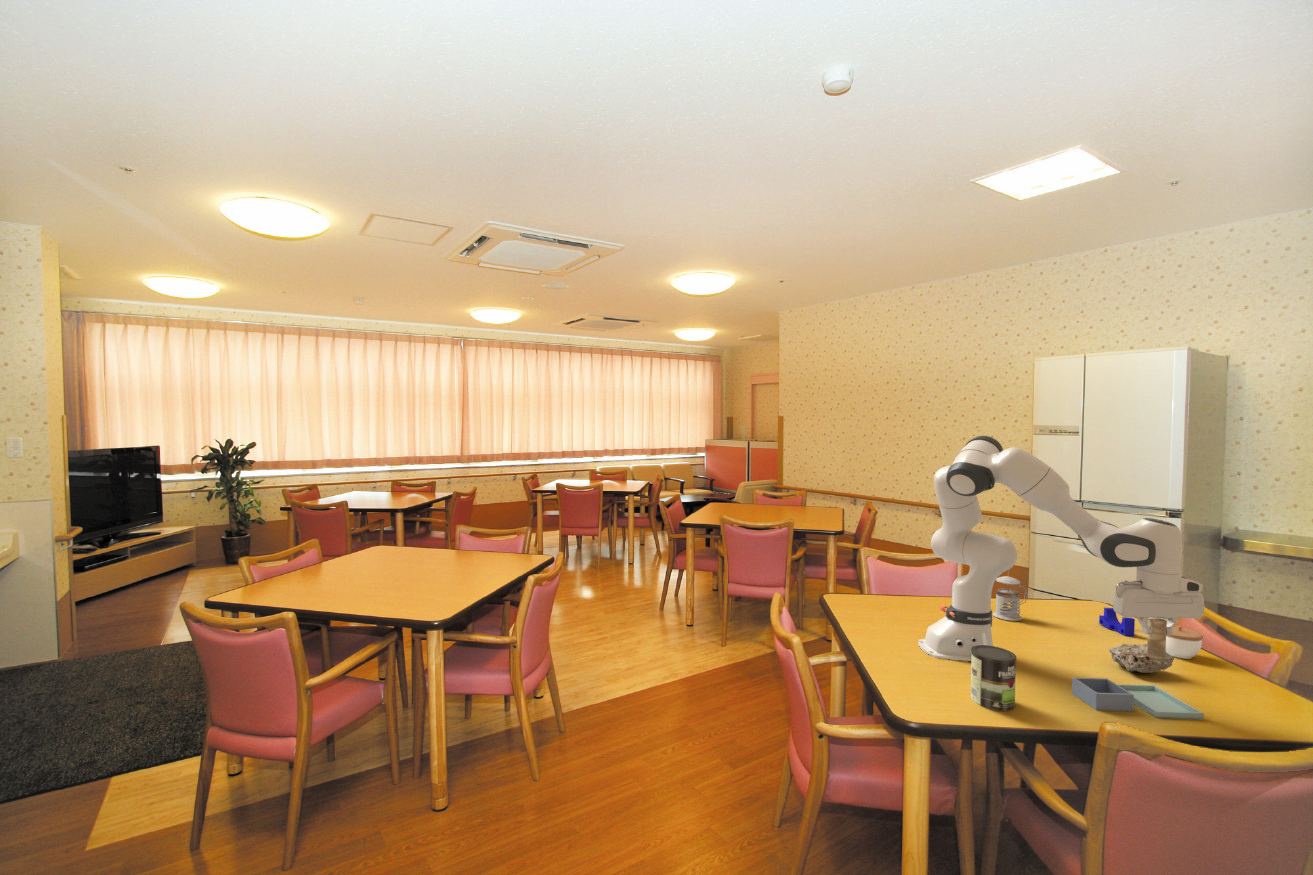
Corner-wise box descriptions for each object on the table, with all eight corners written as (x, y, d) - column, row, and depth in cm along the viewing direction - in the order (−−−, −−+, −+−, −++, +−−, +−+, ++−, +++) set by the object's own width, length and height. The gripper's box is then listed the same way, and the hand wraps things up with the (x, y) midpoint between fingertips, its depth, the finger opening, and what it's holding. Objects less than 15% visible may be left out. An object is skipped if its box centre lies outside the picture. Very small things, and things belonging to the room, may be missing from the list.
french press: (988, 611, 224) (989, 548, 224) (1019, 612, 223) (1021, 549, 222) (999, 620, 215) (1000, 554, 214) (1032, 621, 213) (1034, 555, 212)
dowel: (1154, 660, 148) (1155, 622, 147) (1143, 654, 151) (1144, 617, 151) (1169, 660, 147) (1170, 622, 147) (1157, 654, 151) (1158, 617, 151)
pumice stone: (1156, 666, 174) (1157, 640, 174) (1182, 683, 163) (1183, 656, 163) (1104, 661, 177) (1104, 636, 177) (1126, 678, 166) (1126, 651, 166)
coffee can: (1024, 710, 148) (1025, 656, 147) (997, 718, 144) (998, 663, 143) (987, 692, 157) (988, 642, 157) (961, 700, 153) (962, 648, 153)
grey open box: (1095, 712, 146) (1096, 693, 146) (1071, 695, 156) (1072, 677, 155) (1133, 713, 146) (1133, 694, 146) (1106, 696, 155) (1107, 678, 155)
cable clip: (1099, 623, 212) (1099, 607, 212) (1112, 623, 211) (1113, 607, 211) (1119, 635, 200) (1120, 618, 200) (1134, 636, 199) (1134, 619, 199)
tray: (1156, 720, 143) (1156, 711, 143) (1111, 691, 158) (1111, 683, 158) (1203, 721, 142) (1203, 713, 142) (1153, 692, 157) (1154, 685, 157)
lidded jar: (1201, 654, 183) (1202, 625, 183) (1202, 665, 175) (1203, 634, 175) (1157, 645, 190) (1158, 617, 190) (1155, 655, 183) (1156, 626, 182)
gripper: (1125, 583, 146) (1124, 637, 147) (1210, 585, 145) (1208, 639, 145) (1107, 577, 153) (1106, 628, 153) (1188, 578, 151) (1187, 629, 152)
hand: (1156, 633), depth 149 cm, fingers closed on dowel, 4 cm apart
